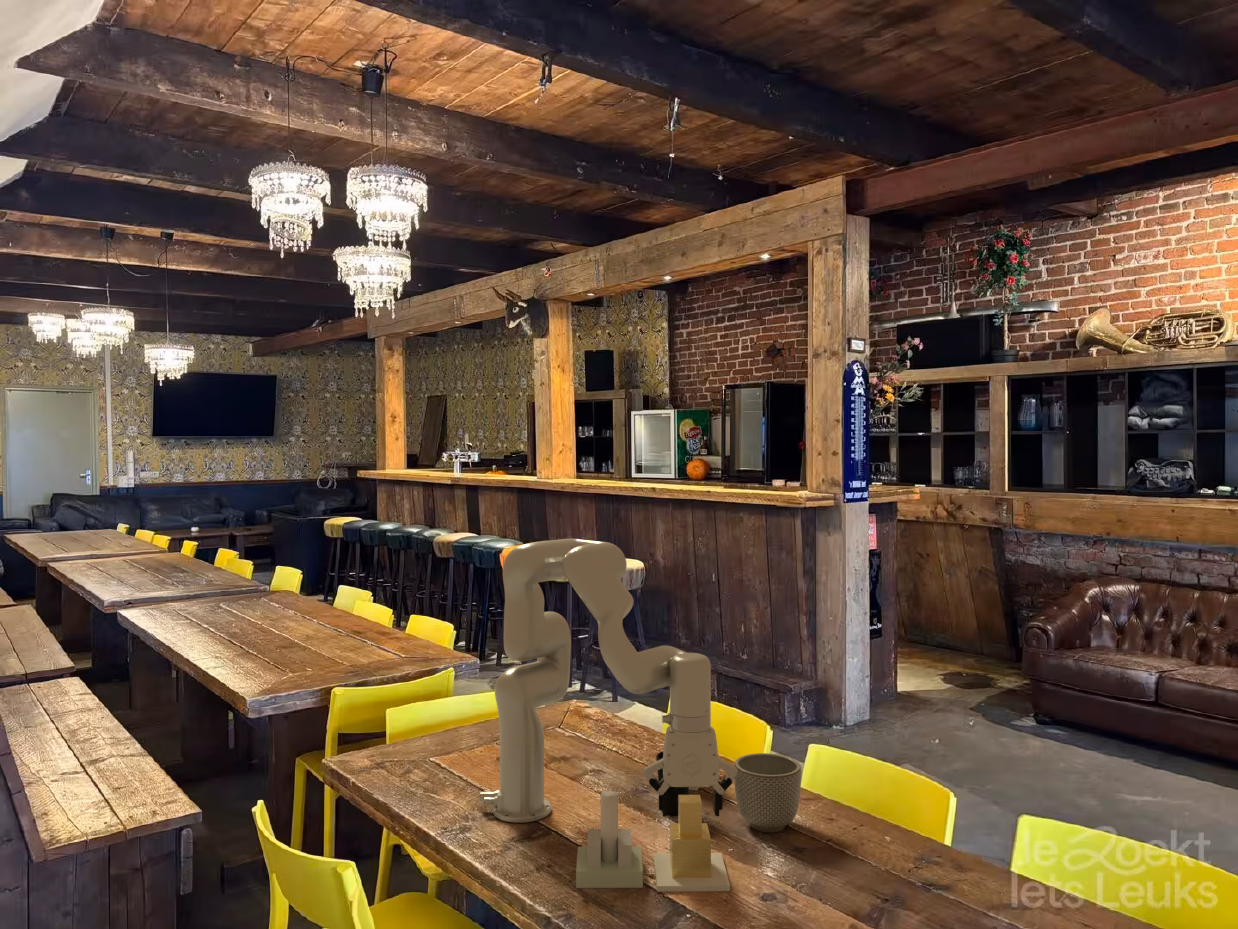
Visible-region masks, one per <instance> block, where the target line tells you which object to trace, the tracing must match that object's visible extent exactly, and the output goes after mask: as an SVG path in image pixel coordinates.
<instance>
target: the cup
mask: <svg viewBox="0 0 1238 929" xmlns="http://www.w3.org/2000/svg"><path fill="white" fill-rule="evenodd" d="M655 758H656V761H658V760H660V759H662V758H663V751H660V752H658V753H657V754H656V757H655ZM662 778H663V768H661V769H660V770H658V771H657V780H658V781H659V782H660V781H661V780H662ZM689 791H690V790H689V787H671V786H670V787H669V788H668V789H667V790H666V794H667V816H669V815H670V816H671V817H678V795H689ZM660 811H662V810H660Z"/></svg>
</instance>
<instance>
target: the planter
mask: <svg viewBox="0 0 1238 929" xmlns="http://www.w3.org/2000/svg"><path fill="white" fill-rule="evenodd" d="M733 766H734V767H736V769H737V774H736V776H735V778H734V789H735V800H736V805H737V809H738V812H739V814H740V816H741V817H742V818H743V819H744V820H745V821H747V822H748V823H749V825H750V826H751V827H752V829H753V830H756V831H758V832H762V833H777V832H781V831H782V830H783V829H784V828H785V827H786V825H788V824H790V823H791V822H792V821H793V820H794V819H796V816H797V814H798V811H799V805H800V796H801V784H802V766H801V764H800V762H798V761H797V760H796V759H794V758H792V757H790V756H786V755H782V754H778V753H768V752H767V753H766V752H762V753H761V752H759V753H758V752H757V753H750V754H745V755H741V756H739V757H738V758H737V759H736V760H735V761H734V765H733Z"/></svg>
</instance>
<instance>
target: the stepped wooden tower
mask: <svg viewBox="0 0 1238 929" xmlns="http://www.w3.org/2000/svg"><path fill="white" fill-rule="evenodd" d="M702 809H703V803H702V799H701V794H688V795H678V816H677V818H678V822H674V823H671V822H670V823H669V853H670V864H671V871H672V878H711V853H712V852H711V851H712V839H711V835H710V831H709V830H710V829H709V826H708V823H706V822H704V823H703V817H702V816H703V810H702Z"/></svg>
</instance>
